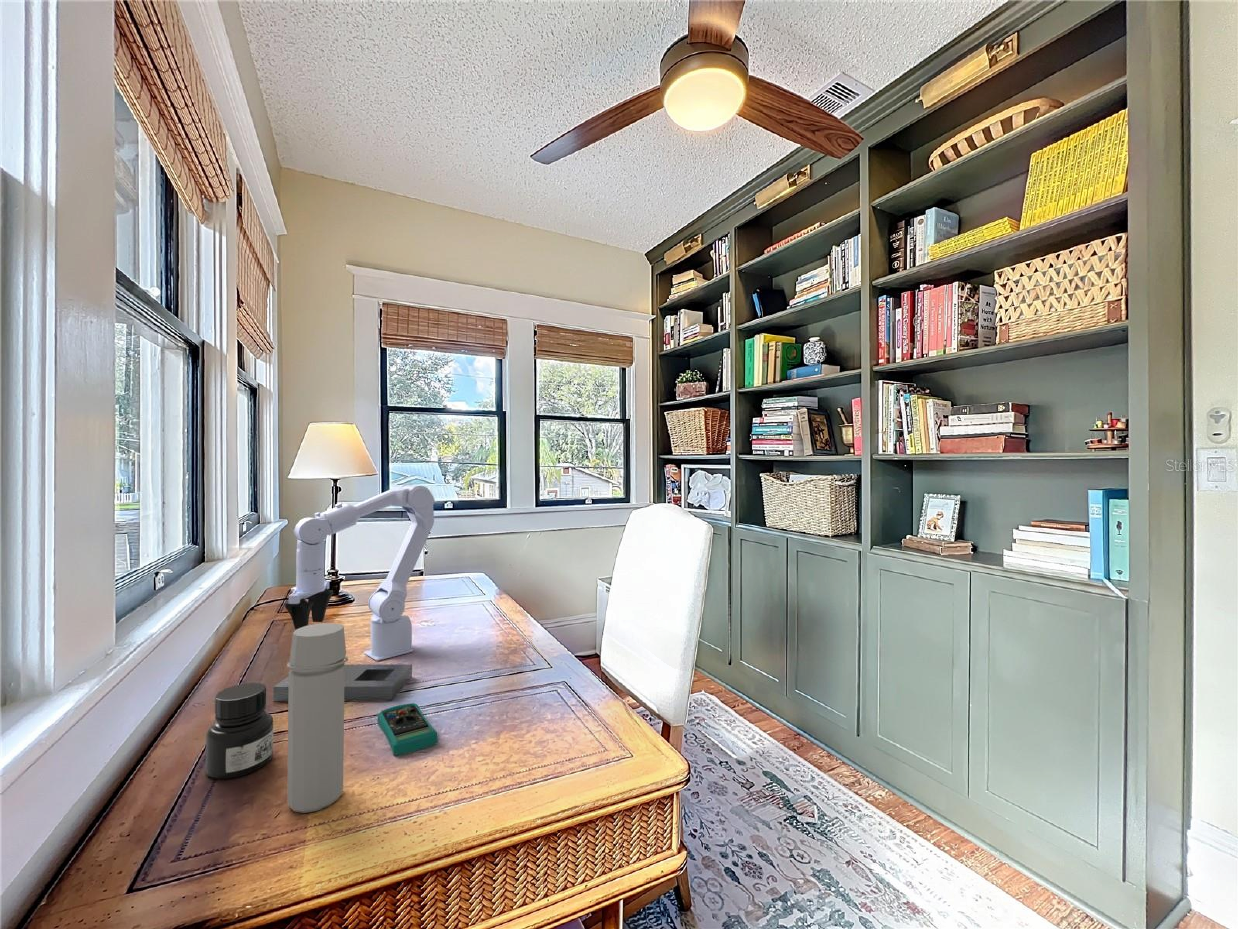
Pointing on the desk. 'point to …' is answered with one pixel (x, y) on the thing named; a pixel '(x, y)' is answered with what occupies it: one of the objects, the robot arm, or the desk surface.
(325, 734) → the water bottle
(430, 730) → the digital multimeter
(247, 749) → the ink bottle
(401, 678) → the jack panel
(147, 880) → the desk surface
